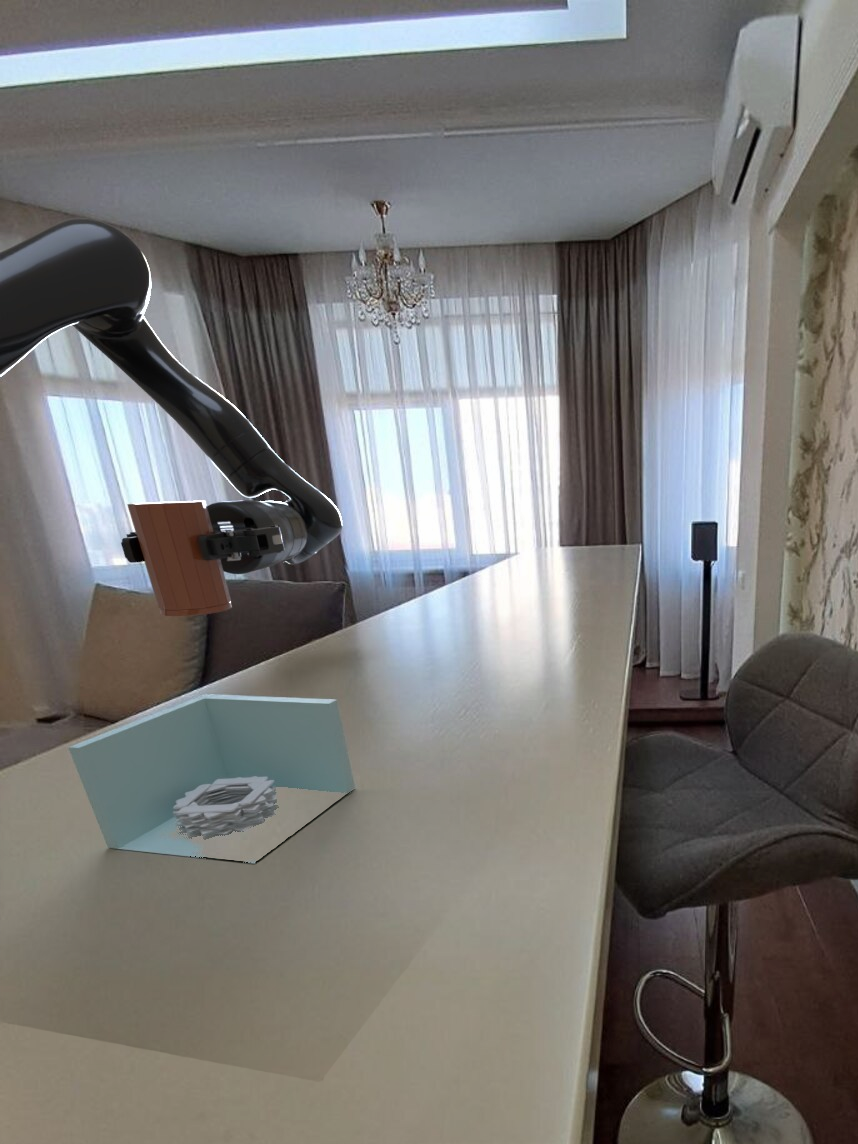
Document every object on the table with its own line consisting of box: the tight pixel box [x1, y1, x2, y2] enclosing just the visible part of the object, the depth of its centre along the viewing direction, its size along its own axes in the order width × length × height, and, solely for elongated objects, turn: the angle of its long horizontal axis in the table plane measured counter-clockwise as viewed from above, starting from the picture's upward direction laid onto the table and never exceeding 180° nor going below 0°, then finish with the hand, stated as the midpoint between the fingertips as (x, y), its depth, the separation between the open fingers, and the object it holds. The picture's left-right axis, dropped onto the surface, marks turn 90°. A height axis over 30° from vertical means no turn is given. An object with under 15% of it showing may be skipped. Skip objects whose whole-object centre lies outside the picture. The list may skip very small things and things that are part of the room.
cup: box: [126, 500, 233, 617], centre depth 66 cm, size 6×6×10 cm
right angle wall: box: [67, 693, 356, 864], centre depth 50 cm, size 12×12×8 cm
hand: (166, 549), depth 64 cm, fingers closed on cup, 6 cm apart
